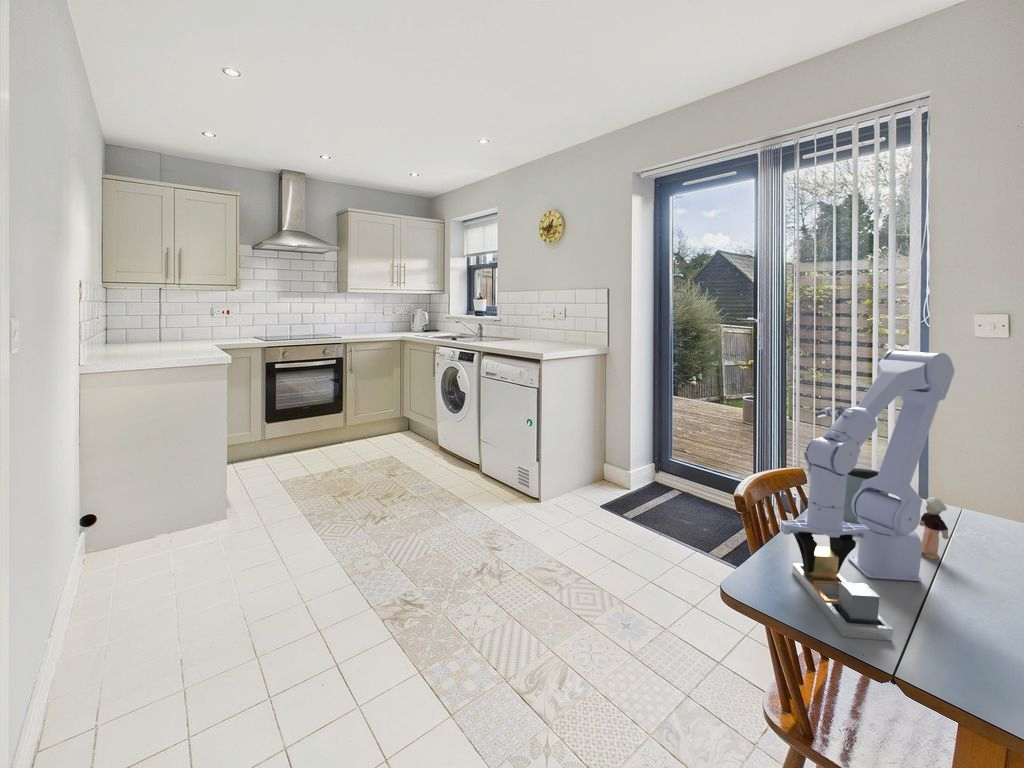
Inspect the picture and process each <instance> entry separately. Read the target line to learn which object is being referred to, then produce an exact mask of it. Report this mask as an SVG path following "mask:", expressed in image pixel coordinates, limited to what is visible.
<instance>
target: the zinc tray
mask: <svg viewBox="0 0 1024 768" xmlns="http://www.w3.org/2000/svg"><path fill="white" fill-rule="evenodd" d="M791 573H792V575H793V576H794V577H795V578H796V579H797V581H798V582H799V583H800V584H801V585H802V587H803V589H805V591H806V592H807V593H808V595H810V597H811V598H812V599H813V601H814V602H815V603H816V604H817V606H818V607H819V608H820V609H821V611H822V612H823V613H824V615H825V616H826V618H828V619H829V621H830V622H831V623H832V625H833V626H834V627H835V629H836V630H837V631H838V632H839V633H840V634H841V636H842V637H843V638H849V639H850V638H851V639H861V640H864V639H865V640H874V641H875V640H876V641H886V642H888V641H889V642H893V636H894V635H893V634H894V629H893V628H892V626H891V625H889V623H888V622H887V621H886V620H885V619H884V618H883V617H882V616H881V615H880V614H879V613H878V620H877V625H866V624H854V623H847V622H846V621H845V620H844V619H843V617H842V616H841V615H840V614H839V613H838V611H837V608H838V599H835V598H832V599H831V598H828V597H827V596H826V595H831V596H832V595H833V596H834V595H835V596H839V586H840V582H848V581H847V580H846V579H845V578H844V577H843V576H842V575H841V574H840V572H839V573H838V574H837V582H830V581H815V580H810V578H809V577H808V576H807V575H806V574H805V572H804V567H803V563H795V562H794V563H792V572H791Z"/></svg>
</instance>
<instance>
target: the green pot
mask: <svg viewBox="0 0 1024 768" xmlns="http://www.w3.org/2000/svg"><path fill="white" fill-rule="evenodd" d="M878 473H879V471H878V470H874V469H868V468H861V467H860V468H859V467H855V468H854V469H852V470H851V471H850V472H849V473H847V484H846V495H845V506H844V518H843V521H845V522H846V523H851V524H859V525H861V523H859V522H857V516H855V515H854V513H853V511H852V506H851V504H852V499H853V497H854V495H855V494H856V493H857V492H858V490H859V489H860V487H861V484H862V482H863V481H864V480H867V479H870V478H873V477H875V476H877V475H878ZM880 493H882V494H885V495H888V496H890V493H887V492H880Z"/></svg>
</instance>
